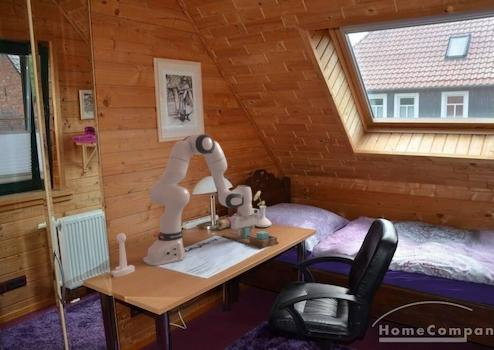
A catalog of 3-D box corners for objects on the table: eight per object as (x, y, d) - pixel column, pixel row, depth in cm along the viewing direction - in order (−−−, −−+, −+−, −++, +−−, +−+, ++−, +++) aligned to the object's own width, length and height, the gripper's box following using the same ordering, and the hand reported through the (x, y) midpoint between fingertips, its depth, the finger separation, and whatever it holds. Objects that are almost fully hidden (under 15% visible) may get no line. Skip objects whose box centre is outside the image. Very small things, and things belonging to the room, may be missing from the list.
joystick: (116, 277, 196) (112, 236, 194) (107, 274, 201) (104, 234, 199) (136, 271, 204) (133, 231, 202) (127, 267, 209) (125, 229, 207)
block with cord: (262, 244, 239) (262, 234, 238) (240, 237, 253) (240, 228, 252) (268, 242, 242) (268, 232, 241) (247, 236, 256) (246, 226, 255)
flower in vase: (263, 223, 290) (262, 187, 287) (275, 226, 282) (274, 189, 278) (249, 227, 281) (248, 190, 278) (261, 230, 273) (260, 192, 270)
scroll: (224, 229, 271) (245, 223, 286) (221, 218, 272) (241, 213, 287) (217, 232, 276) (238, 226, 291) (213, 222, 277) (234, 216, 292)
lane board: (261, 249, 233) (260, 242, 233) (221, 236, 260) (221, 230, 260) (278, 243, 242) (278, 237, 242) (238, 232, 269) (238, 226, 269)
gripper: (235, 215, 242) (235, 238, 244) (260, 209, 255) (261, 231, 257) (228, 213, 247) (229, 236, 249) (253, 208, 260) (254, 229, 262)
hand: (245, 233), depth 253 cm, fingers open, 8 cm apart
